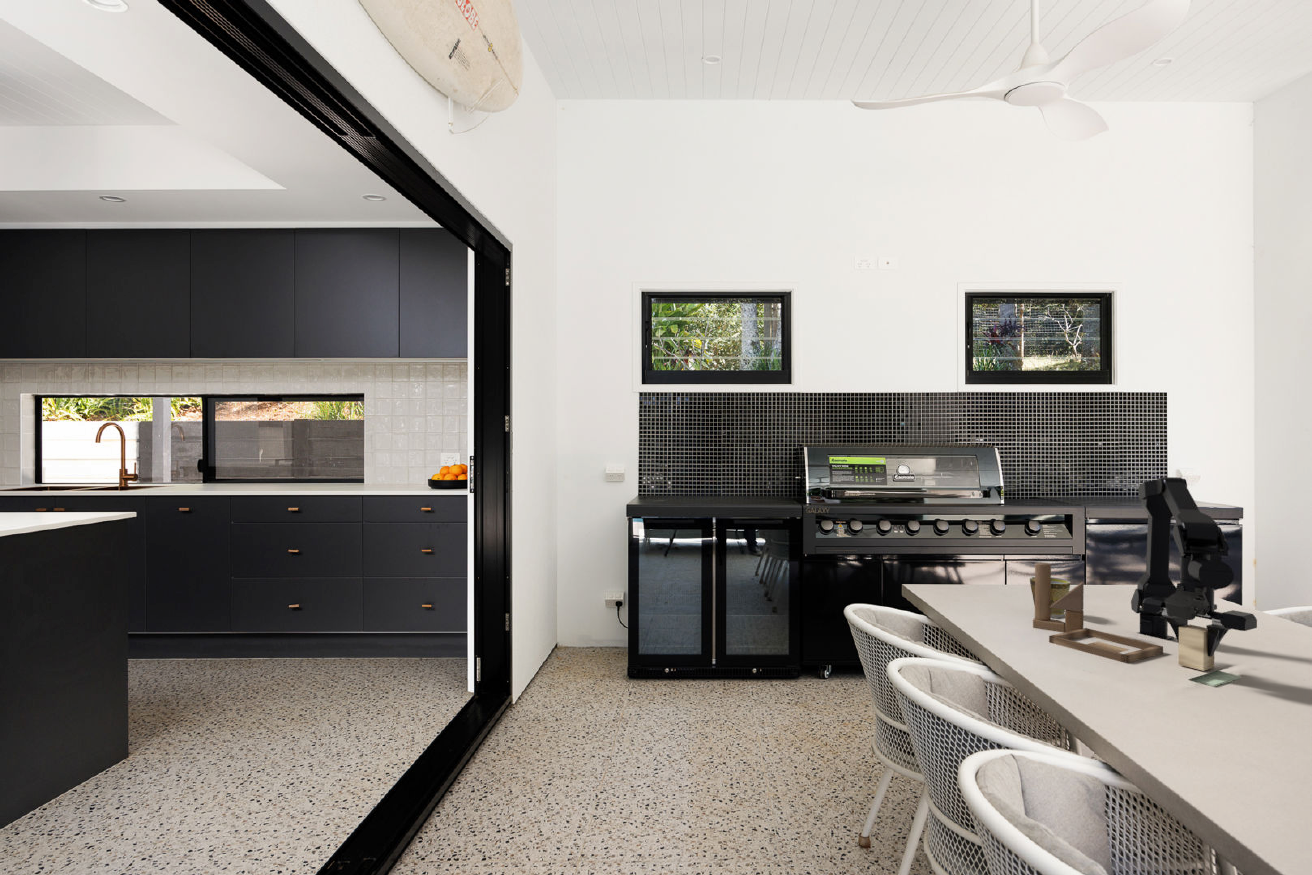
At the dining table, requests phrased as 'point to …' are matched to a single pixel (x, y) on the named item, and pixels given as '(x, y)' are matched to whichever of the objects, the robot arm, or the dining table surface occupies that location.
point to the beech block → (1194, 648)
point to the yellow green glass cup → (1054, 593)
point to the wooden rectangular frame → (1106, 645)
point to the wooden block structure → (1056, 603)
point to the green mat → (1215, 678)
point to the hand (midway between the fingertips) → (1196, 653)
